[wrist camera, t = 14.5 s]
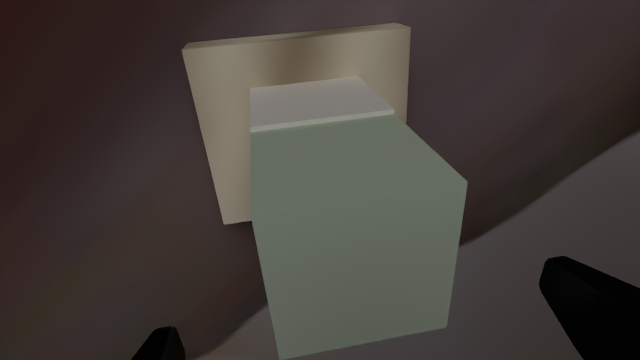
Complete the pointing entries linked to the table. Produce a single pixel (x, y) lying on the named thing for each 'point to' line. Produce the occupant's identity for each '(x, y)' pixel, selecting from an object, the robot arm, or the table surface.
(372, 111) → the white block
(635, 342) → the robot arm
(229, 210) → the slab
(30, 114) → the table surface
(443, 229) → the sage block
